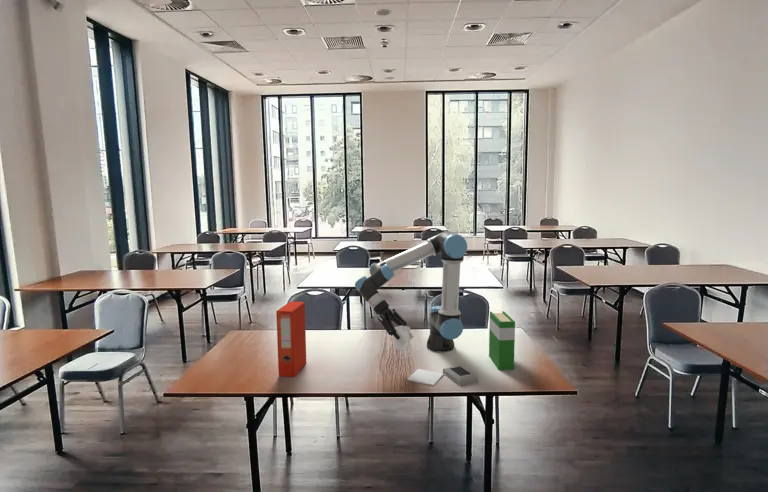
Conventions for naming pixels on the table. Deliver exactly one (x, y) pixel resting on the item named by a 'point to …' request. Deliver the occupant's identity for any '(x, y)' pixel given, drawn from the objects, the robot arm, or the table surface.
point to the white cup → (405, 333)
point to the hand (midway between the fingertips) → (408, 341)
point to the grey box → (460, 375)
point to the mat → (425, 377)
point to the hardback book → (502, 340)
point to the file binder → (291, 338)
